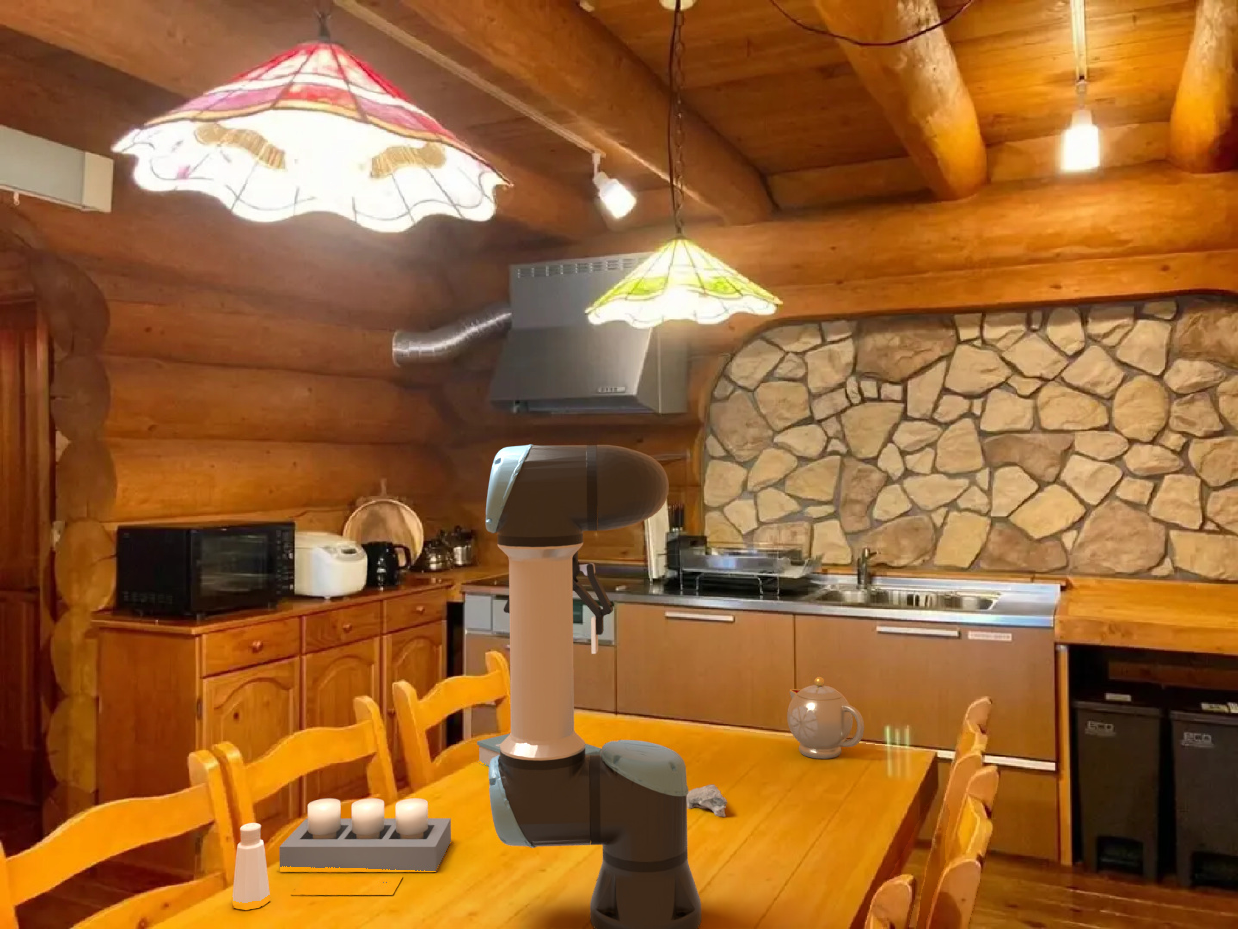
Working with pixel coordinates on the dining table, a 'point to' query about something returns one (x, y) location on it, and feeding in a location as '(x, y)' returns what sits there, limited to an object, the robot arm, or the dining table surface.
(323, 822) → the button
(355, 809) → the button mid
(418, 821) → the button
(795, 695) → the teapot
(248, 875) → the salt shaker
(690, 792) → the stone
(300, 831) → the gray compartment tray
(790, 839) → the dining table surface
